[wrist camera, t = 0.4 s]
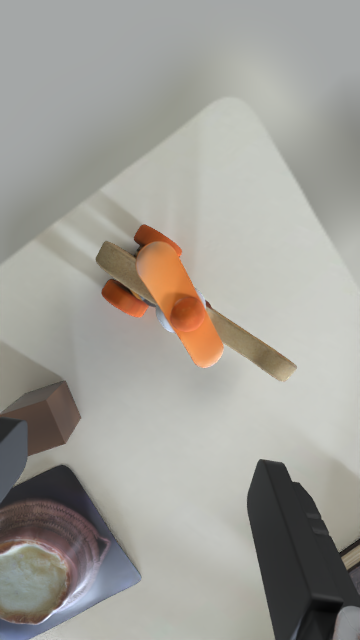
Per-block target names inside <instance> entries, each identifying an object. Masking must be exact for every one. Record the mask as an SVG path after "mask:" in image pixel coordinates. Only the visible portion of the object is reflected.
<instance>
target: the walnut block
mask: <svg viewBox="0 0 360 640" xmlns="http://www.w3.org/2000/svg"><path fill="white" fill-rule="evenodd" d="M0 417H9V418H15V419H21V420H26V422H27V425H28V456H30V455H33V454H36V453H39V452H42V451H45V450H48V449H51V448H54V447H57V446H60V445H63V444H66V442H67V440H68V439H69V437H70V435H71V434H72V432H73V430H74V429H75V427H76V426H77V424H78V422H79V421H80V419H81V416H80V414H79V411H78V409H77V407H76V404H75V402H74V400H73V397H72V395H71V393H70V390H69V388H68V385H67V383H66V381H62V382H59V383H56V384H53V385H50V386H47V387H44V388H41V389H38V390H35V391H32V392H29V393H26V394H24V395H23V396H21V397H20V398H19V399H18V400H16V401H15V402H14V403H13V404H12V405H10V406H9V407H8V408H7V409H5V410H4V411H3V412H2V413H0Z"/></svg>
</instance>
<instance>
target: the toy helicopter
mask: <svg viewBox="0 0 360 640" xmlns="http://www.w3.org/2000/svg"><path fill="white" fill-rule="evenodd" d="M134 240H135V242H136V243H138V244H139V245H140V247H139V248H138V249H137V251H136V253H135V255H134V256H133V255H132V254H130V253H128V252H126V251H125V250H123V249H122V248H120V247H118V246H117V245H115V244H113V243H111V242H108V241H105V242H104V243H103V245H102V247H101V249H100V251H99V253H98V255H97V257H96V262H97V264H98V265H99V266H100V267H101V268H102V269H103V270H104V271H106V272H107V273H108V274H110V275H111V276H112V277H114V278H115V279H116V280H118V281H116V280H114V279H110V280H108V281H107V283H106V285H105V286H104V288H103V289H102V296H103V297H104V298H105V299H106V300H107V301H108V302H109V303H111V304H112V305H113V306H115V307H116V308H118V309H120V310H121V311H123V312H125V313H127V314H129V315H131V316H134V317H141V316H142V315H143V314H144V313H145V311H146V310H147V308H148V306H152V307H156V315H157V318H158V320H159V322H160V323H161V324H162V326H163V327H164V328H165V329H167V330H168V331H170V332H173V333H177V335H178V337H179V338H180V340H181V341H182V343H183V345H184V346H185V348H186V350H187V351H188V353H189V355H190V356H191V358H192V360H193V361H194V363H195V364H196V365H197V366H199V367H201V368H208V367H210V366H212V365H214V364H215V363H216V362H217V361H218V360H219V359H220V357H221V356H222V353H223V349H224V347H223V343H224V344H226V345H227V346H229V347H230V348H232V349H233V350H235V351H237V352H238V353H240V354H241V355H243V356H244V357H246V358H248V359H249V360H250V361H252V362H253V363H254V364H256V365H257V366H258V367H260V368H261V369H262V370H264V371H265V372H267V373H268V374H269V375H271V376H272V377H274V378H276V379H277V380H279V381H282V382H285V381H286V380H288V378H289V377H290V376H291V375H292V374H293V372H294V371H295V370H296V369H297V366H296V365H295V364H294V363H292V362H291V361H290V360H288V359H287V358H286V357H284V356H283V355H281V354H280V353H279V352H277V351H276V350H274V349H273V348H271V347H270V346H268V345H267V344H265V343H264V342H262V341H261V340H259V339H258V338H256V337H254V336H253V335H251V334H250V333H248V332H247V331H245V330H244V329H243V328H241V327H240V326H238V325H237V324H235V323H233V322H232V321H230V320H229V319H227V318H226V317H224V316H223V315H221V314H220V313H218V312H217V311H215V310H214V309H213V308H212V307H211V305H210V304H209V303H208V302H207V301H206V300H205V299H204V296H203V295H202V293H201V292H200V291H199V290H197V289H196V288H195V287H194V286H193V284H192V282H191V280H190V278H189V276H188V274H187V272H186V270H185V269H184V267H183V265H182V263H181V261H180V259H179V257H180V255H181V253H182V250H181V249H180V247H179V246H178V245H177V244H175V243H174V242H173V241H172V240H170V239H169V238H167V237H166V236H164V235H163V234H162V233H160V232H158V231H157V230H155V229H153V228H151V227H149V226H147V225H141V226H140V228H139V229H138V231H137V233H136V234H135V236H134Z"/></svg>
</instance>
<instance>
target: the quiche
mask: <svg viewBox="0 0 360 640" xmlns="http://www.w3.org/2000/svg"><path fill="white" fill-rule="evenodd" d="M140 580H141V576H140V574H139V572H138V571H137V570H136V568H135V567H134V565H133V564H132V563H131V561H130V560H129V558H128V557H127V556H126V554H125V553H124V551H123V550H122V549H121V547H120V546H119V544H118V543H117V541H116V540H115V538H114V537H113V535H112V533H111V532H110V530H109V529H108V527H107V526H106V524H105V522H104V521H103V519H102V518H101V516H100V514H99V513H98V511H97V510H96V508H95V506H94V505H93V503H92V502H91V500H90V498H89V497H88V495H87V493H86V492H85V490H84V489H83V487H82V485H81V484H80V482H79V481H78V479H77V478H76V476H75V475H74V473H73V472H72V471H71V470H70V469H69V468H68V467H66V466H63V465H61V466H58V467H55V468H53V469H51V470H49V471H47V472H45V473H42V474H40V475H38V476H36V477H34V478H32V479H30V480H28V481H26V482H24V483H22V484H20V485H17V486H15V487H13V488H11V489H10V491H9V492H8V494H7V495H6V496H5V498H4V499H3V501H2V502H1V503H0V640H29V639H31V638H33V637H35V636H37V635H39V634H41V633H43V632H45V631H47V630H49V629H51V628H53V627H55V626H57V625H59V624H61V623H63V622H64V621H66V620H68V619H70V618H72V617H74V616H76V615H78V614H79V613H81V612H83V611H85V610H87V609H88V608H90V607H92V606H94V605H96V604H97V603H99V602H101V601H103V600H105V599H107V598H109V597H111V596H113V595H115V594H117V593H119V592H121V591H123V590H125V589H127V588H129V587H131V586H133V585H135V584H137V583H138V582H139V581H140Z"/></svg>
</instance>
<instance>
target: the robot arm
mask: <svg viewBox="0 0 360 640" xmlns="http://www.w3.org/2000/svg"><path fill="white" fill-rule="evenodd" d="M27 457H28V425H27V422H26V420H21V419H15V418H9V417H0V503H1V502H2V501H3V499H4V498H5V496H6V495H7V494H8V492H9V491H10V489H11V488H12V487H13V485H14V484H15V483H16V481H17V480H18V478H19V477H20V475H21V474H22V472H23V470H24V468H25V465H26V462H27ZM247 510H248V516H249V521H250V525H251V530H252V534H253V539H254V544H255V548H256V553H257V557H258V562H259V567H260V571H261V576H262V580H263V585H264V589H265V594H266V599H267V603H268V608H269V612H270V617H271V622H272V626H273V631H274V635H275V640H360V596H359V594H358V592H357V590H356V587H355V585H354V583H353V581H352V579H351V577H350V575H349V573H348V571H347V569H346V567H345V565H344V563H343V561H342V559H341V556H340V554H339V552H338V550H337V548H336V546H335V544H334V542H333V540H332V538H331V536H329V532H328V530H327V527H326V525H325V523H324V521H323V520H321V515H320V513H319V511H318V509H317V507H316V505H315V503H314V501H313V499H312V497H311V496H310V495H309V494H308V493H307V491H306V490H305V489H304V488H303V487H302V486H301V484H300V483H297V482H292V480H291V478H290V476H289V473H288V471H287V469H286V467H285V465H284V464H283V463H282V462H275V461H269V460H263V459H260V460H259V461H258V463H257V466H256V469H255V472H254V475H253V478H252V482H251V485H250V488H249V491H248V496H247Z"/></svg>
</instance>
